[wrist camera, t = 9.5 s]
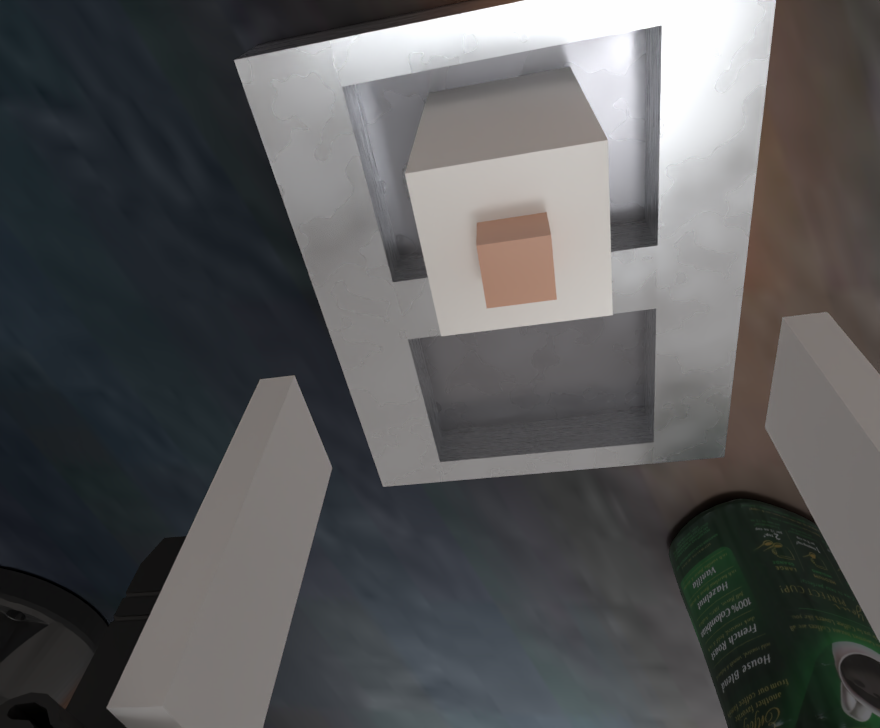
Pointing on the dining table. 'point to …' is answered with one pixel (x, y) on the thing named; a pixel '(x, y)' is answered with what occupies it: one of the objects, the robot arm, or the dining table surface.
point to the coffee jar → (776, 620)
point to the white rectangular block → (513, 203)
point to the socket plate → (631, 227)
